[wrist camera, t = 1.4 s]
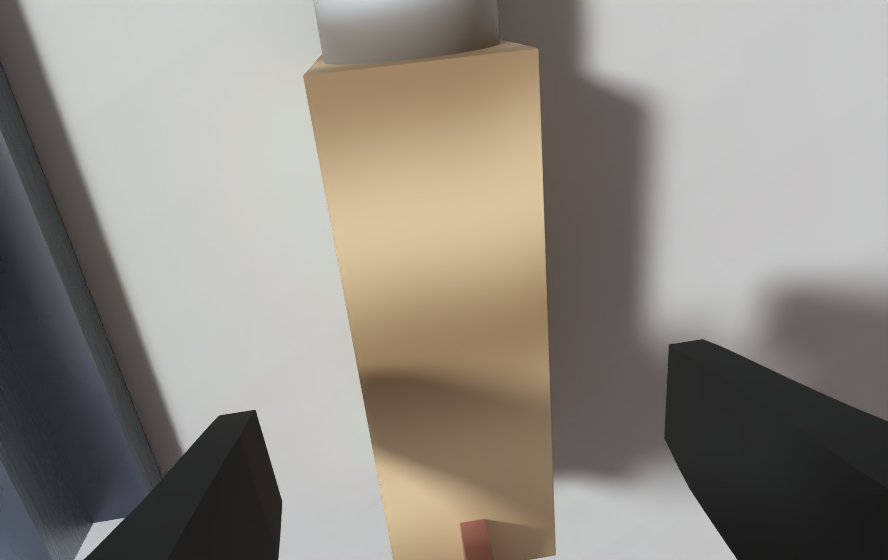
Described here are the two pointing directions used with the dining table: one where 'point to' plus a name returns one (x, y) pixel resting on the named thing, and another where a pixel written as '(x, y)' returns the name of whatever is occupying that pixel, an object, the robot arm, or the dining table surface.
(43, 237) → the cradle
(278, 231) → the dining table surface
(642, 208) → the dining table surface
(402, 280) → the block
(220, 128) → the dining table surface
